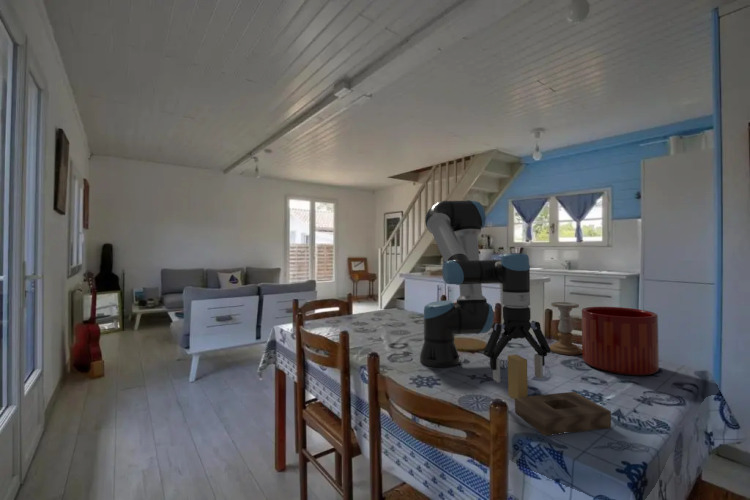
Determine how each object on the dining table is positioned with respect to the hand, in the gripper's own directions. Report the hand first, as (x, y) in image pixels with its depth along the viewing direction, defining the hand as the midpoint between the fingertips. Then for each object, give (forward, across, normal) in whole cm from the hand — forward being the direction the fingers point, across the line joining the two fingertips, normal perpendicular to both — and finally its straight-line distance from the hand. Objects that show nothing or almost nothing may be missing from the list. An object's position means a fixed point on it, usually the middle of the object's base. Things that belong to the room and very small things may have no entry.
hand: (517, 378), depth 101 cm
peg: (+6, 0, 0) cm, 6 cm away
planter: (+6, +52, +17) cm, 55 cm away
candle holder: (+6, +47, +38) cm, 61 cm away
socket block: (+6, +3, -14) cm, 15 cm away
